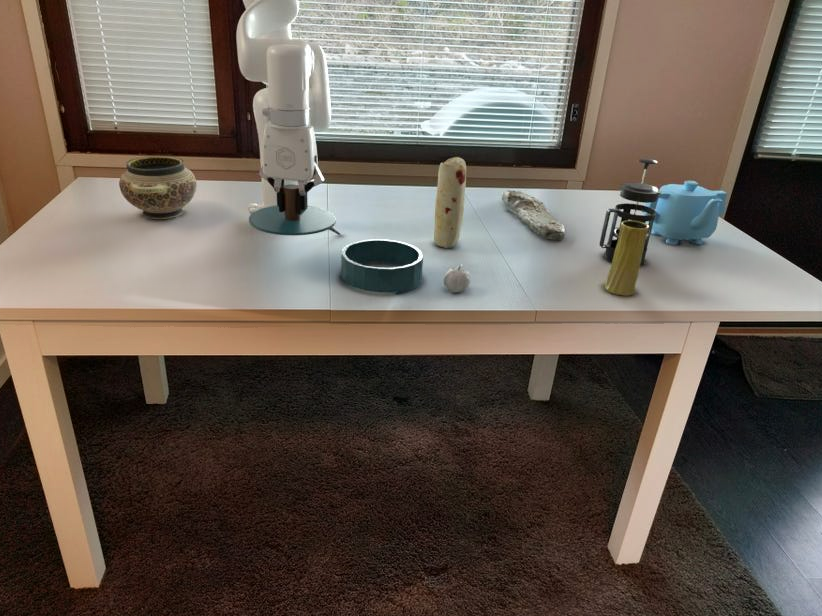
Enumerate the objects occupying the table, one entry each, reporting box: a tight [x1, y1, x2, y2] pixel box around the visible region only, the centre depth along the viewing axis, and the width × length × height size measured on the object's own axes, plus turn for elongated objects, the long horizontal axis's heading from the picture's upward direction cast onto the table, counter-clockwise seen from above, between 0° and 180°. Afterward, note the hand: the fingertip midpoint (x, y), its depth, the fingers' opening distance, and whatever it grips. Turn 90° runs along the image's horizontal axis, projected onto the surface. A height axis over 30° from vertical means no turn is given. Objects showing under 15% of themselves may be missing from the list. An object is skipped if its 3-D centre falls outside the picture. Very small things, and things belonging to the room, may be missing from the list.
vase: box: [604, 220, 649, 297], centre depth 132 cm, size 6×6×14 cm
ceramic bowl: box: [118, 155, 198, 220], centre depth 160 cm, size 24×18×15 cm
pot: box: [340, 238, 424, 295], centre depth 134 cm, size 17×17×6 cm
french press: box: [598, 158, 662, 267], centre depth 146 cm, size 12×9×23 cm
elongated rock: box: [501, 189, 566, 241], centre depth 174 cm, size 35×5×10 cm
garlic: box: [443, 263, 471, 294], centre depth 130 cm, size 6×5×5 cm
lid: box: [248, 184, 337, 236], centre depth 132 cm, size 18×18×8 cm
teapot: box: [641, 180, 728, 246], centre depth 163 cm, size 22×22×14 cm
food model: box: [433, 156, 467, 249], centre depth 150 cm, size 10×7×20 cm
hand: (292, 210), depth 132 cm, fingers closed on lid, 3 cm apart
